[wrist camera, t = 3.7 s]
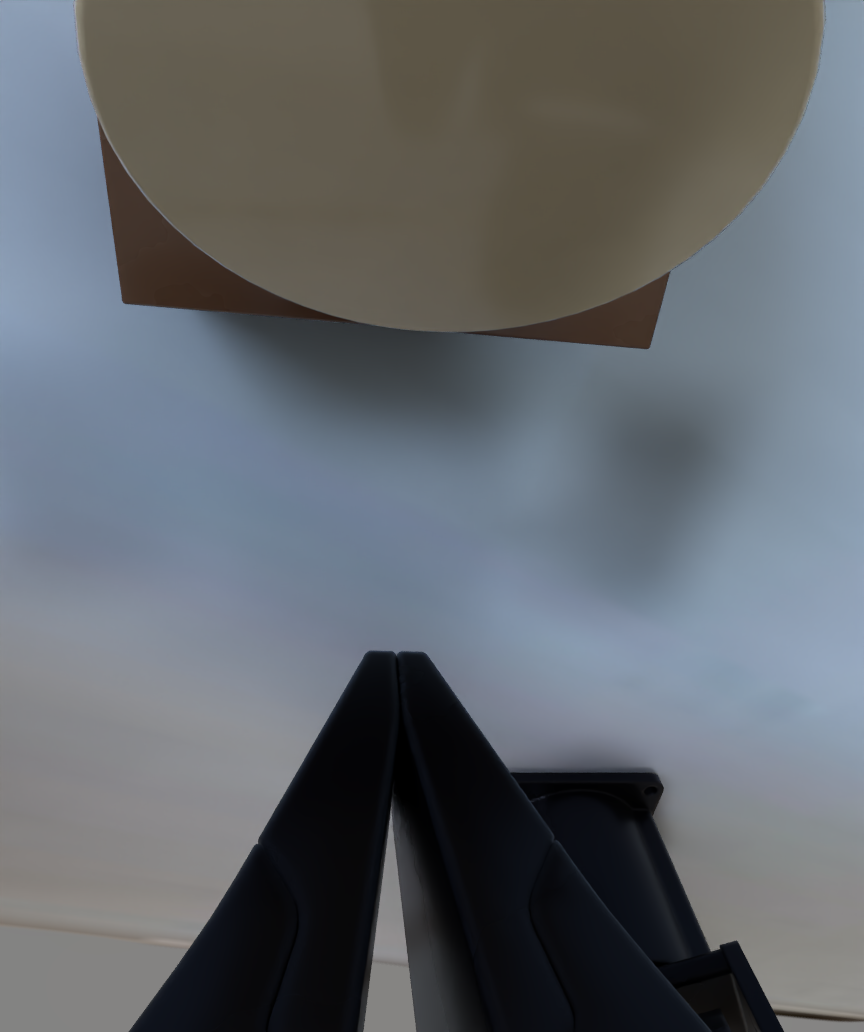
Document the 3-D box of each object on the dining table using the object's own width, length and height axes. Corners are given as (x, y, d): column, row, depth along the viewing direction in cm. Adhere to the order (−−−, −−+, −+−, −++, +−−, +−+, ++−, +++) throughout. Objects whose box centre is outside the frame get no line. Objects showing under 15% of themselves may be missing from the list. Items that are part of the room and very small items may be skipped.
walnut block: (645, 124, 13) (715, 110, 10) (601, 320, 15) (650, 349, 12) (149, 58, 12) (82, 23, 9) (170, 280, 13) (121, 304, 11)
